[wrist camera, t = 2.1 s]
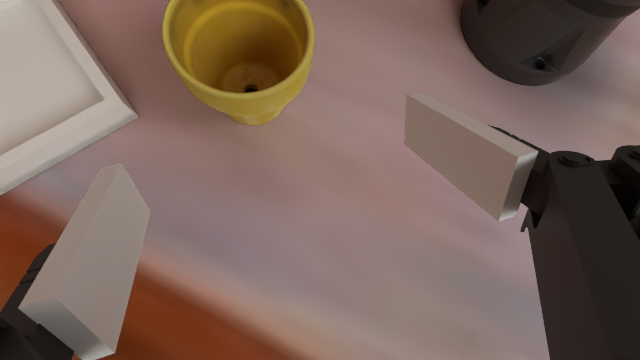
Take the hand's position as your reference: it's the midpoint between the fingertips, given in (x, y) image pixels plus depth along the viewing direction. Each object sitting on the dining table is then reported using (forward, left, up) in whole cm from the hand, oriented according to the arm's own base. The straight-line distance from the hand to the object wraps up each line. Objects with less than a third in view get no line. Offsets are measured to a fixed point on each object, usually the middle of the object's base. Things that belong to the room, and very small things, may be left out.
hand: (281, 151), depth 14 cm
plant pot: (-4, -10, -15) cm, 18 cm away
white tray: (+14, -22, -15) cm, 30 cm away
